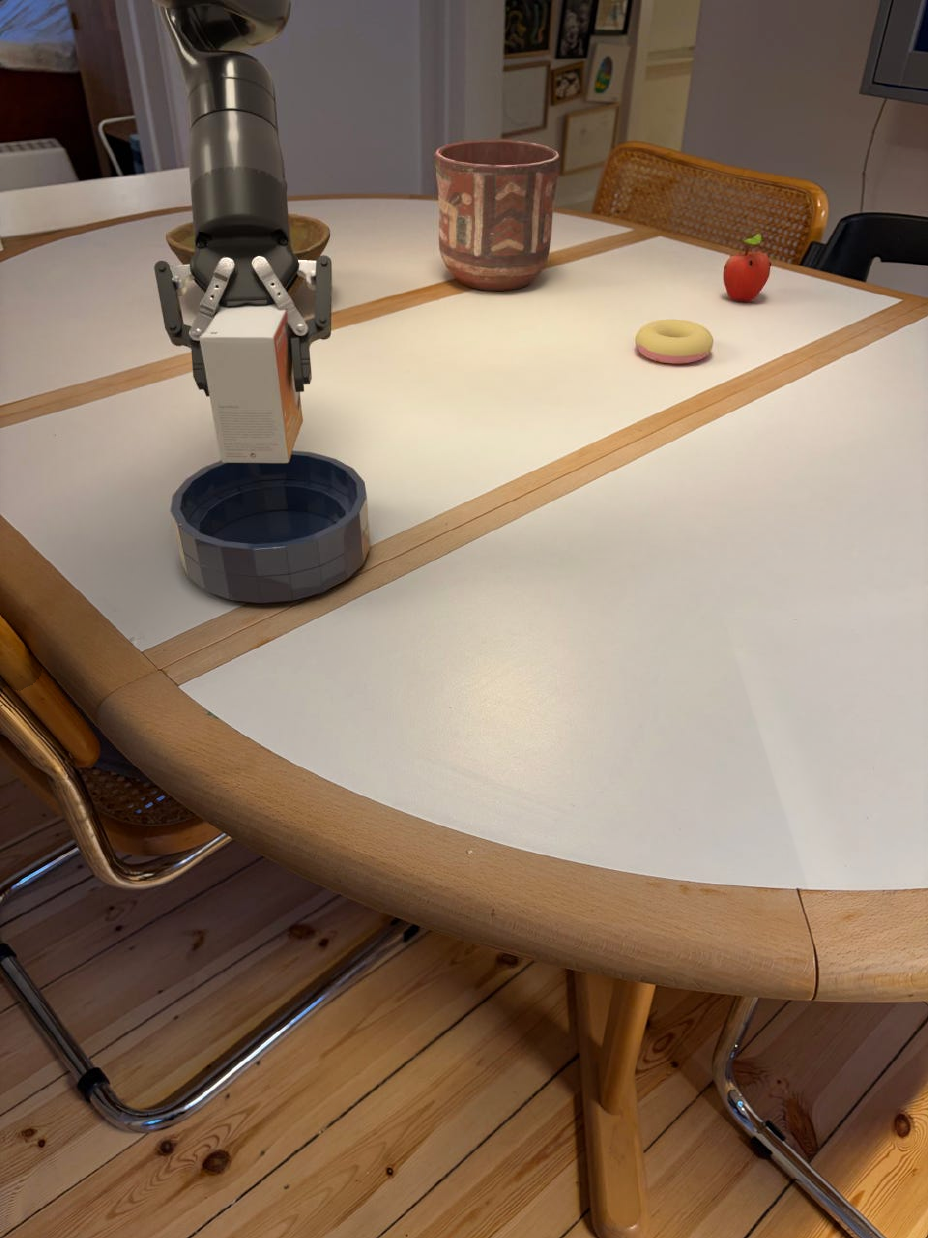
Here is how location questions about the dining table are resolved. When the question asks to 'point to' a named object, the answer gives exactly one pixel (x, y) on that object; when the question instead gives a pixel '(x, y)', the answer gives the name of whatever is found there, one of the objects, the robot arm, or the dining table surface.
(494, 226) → the pottery
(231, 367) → the small box
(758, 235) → the apple
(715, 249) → the dining table surface
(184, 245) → the bowl
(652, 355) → the donut
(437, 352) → the dining table surface
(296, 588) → the glazed bowl
